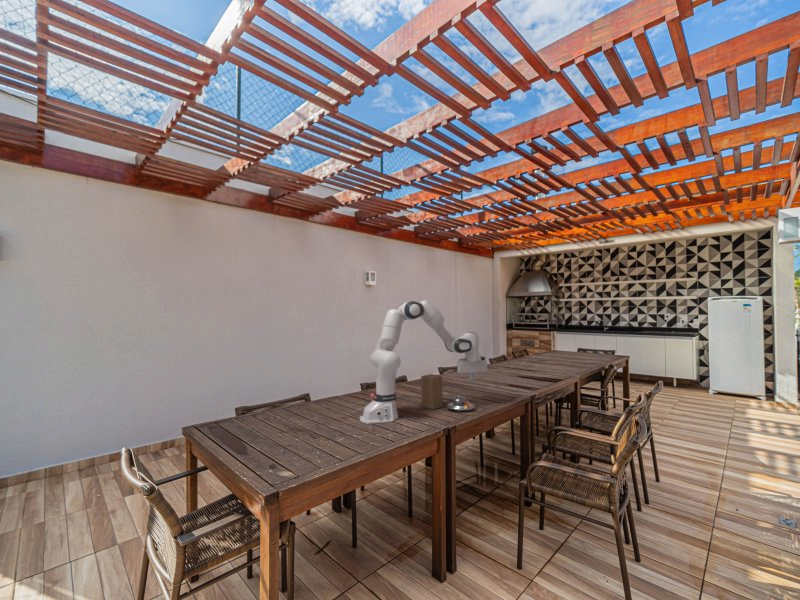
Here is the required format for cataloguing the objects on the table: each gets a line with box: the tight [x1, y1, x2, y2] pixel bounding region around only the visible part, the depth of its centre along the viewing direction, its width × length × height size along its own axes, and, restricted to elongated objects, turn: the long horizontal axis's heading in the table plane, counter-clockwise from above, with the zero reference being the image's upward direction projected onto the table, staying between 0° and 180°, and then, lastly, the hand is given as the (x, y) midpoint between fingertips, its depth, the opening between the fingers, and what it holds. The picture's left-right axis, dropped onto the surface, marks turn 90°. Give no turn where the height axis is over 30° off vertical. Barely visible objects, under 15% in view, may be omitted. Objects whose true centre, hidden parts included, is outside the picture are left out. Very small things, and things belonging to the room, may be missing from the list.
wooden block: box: [420, 373, 444, 411], centre depth 230 cm, size 10×10×20 cm
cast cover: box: [452, 395, 467, 406], centre depth 223 cm, size 8×8×5 cm
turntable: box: [446, 400, 476, 411], centre depth 224 cm, size 17×17×6 cm
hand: (472, 379), depth 227 cm, fingers closed
